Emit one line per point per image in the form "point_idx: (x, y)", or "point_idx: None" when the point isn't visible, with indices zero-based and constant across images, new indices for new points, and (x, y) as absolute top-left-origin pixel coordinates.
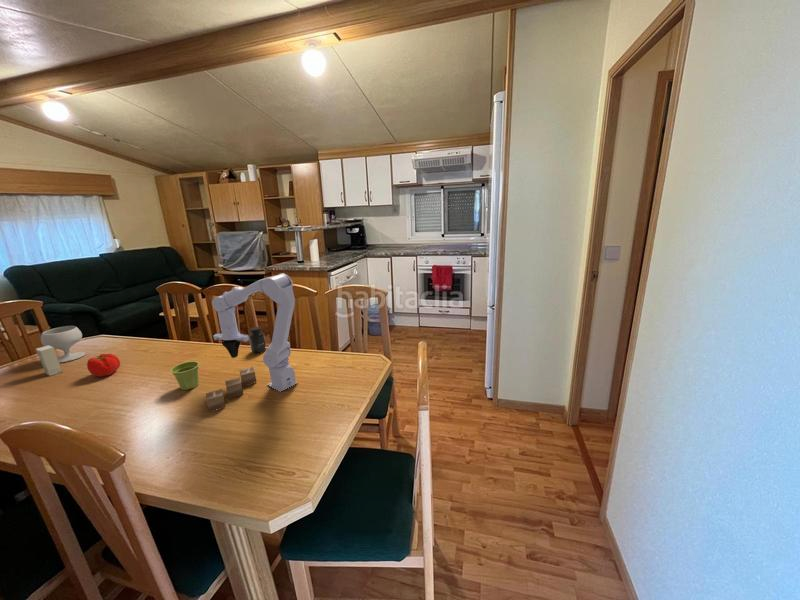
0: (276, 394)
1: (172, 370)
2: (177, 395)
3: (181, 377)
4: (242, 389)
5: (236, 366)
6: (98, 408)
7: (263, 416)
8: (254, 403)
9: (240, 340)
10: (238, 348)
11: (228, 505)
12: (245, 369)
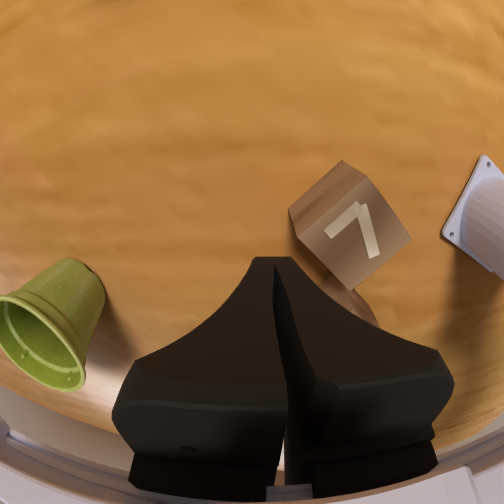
0: (479, 280)
1: (20, 360)
2: (104, 340)
3: (74, 363)
4: (376, 320)
5: (119, 62)
6: (20, 377)
7: (459, 364)
8: (428, 335)
9: (470, 454)
10: (328, 299)
11: (436, 449)
12: (339, 224)
